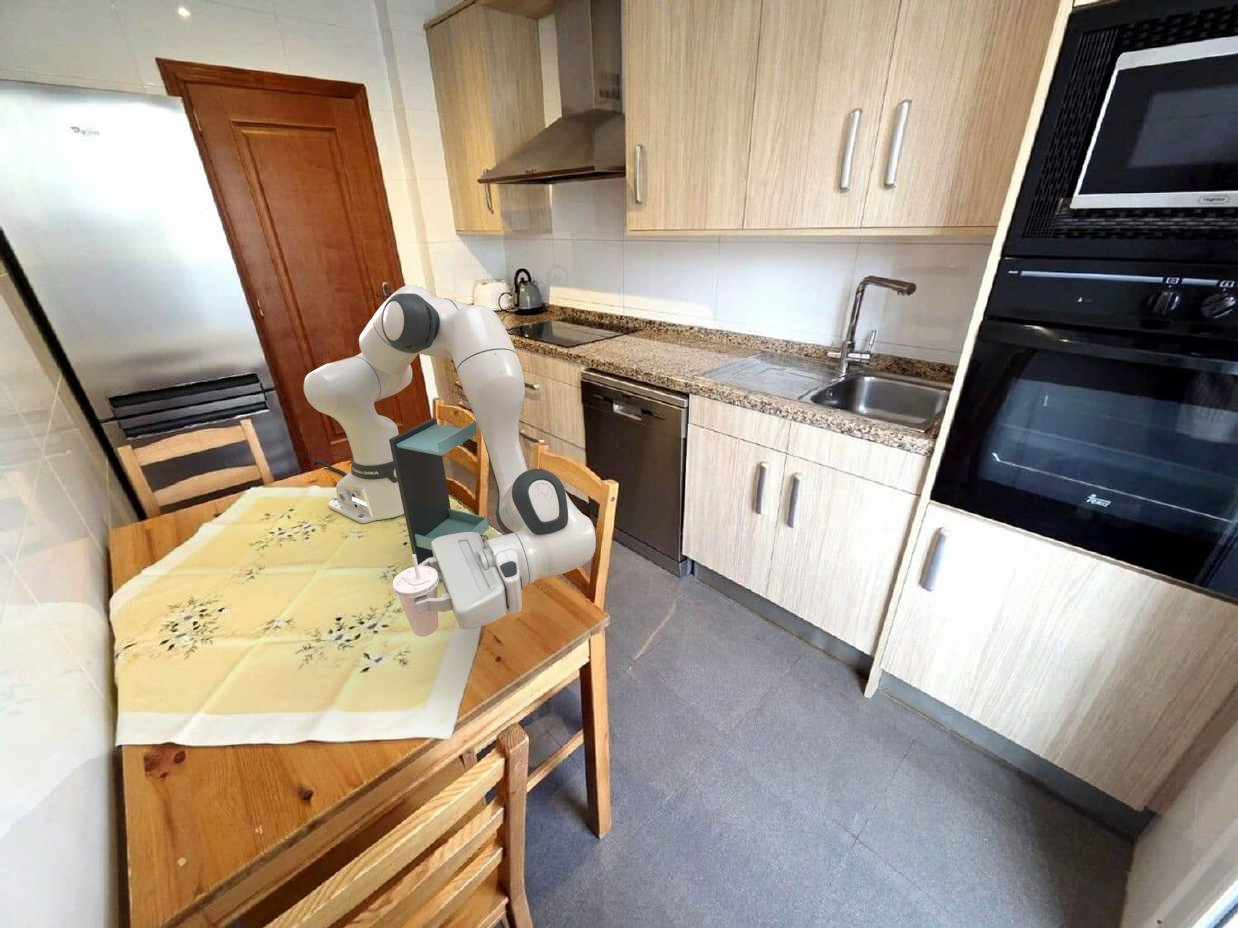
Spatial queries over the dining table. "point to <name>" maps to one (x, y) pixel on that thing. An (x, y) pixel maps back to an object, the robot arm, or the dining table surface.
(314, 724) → the dining table surface
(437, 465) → the rack
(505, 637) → the dining table surface
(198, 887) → the dining table surface
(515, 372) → the robot arm
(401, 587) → the smoothie
